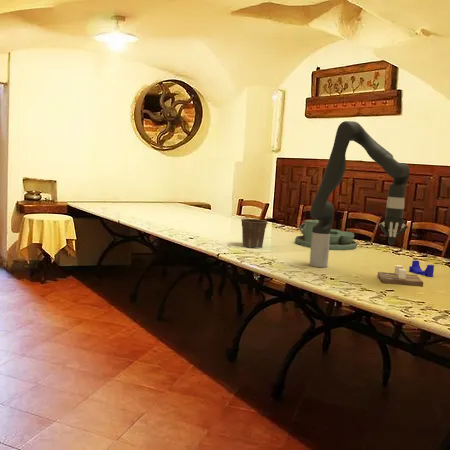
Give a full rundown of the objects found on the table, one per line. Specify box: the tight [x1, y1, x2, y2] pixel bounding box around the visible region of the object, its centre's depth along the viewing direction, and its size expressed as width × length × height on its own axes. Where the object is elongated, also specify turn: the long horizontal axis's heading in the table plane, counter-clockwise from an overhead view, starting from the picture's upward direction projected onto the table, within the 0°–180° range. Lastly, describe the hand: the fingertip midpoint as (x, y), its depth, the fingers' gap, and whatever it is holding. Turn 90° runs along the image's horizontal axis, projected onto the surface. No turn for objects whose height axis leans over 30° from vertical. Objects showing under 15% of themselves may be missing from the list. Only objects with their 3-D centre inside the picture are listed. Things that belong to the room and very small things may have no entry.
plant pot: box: [240, 218, 268, 248], centre depth 313 cm, size 16×16×16 cm
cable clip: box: [408, 259, 435, 278], centre depth 258 cm, size 12×4×6 cm, turn 21°
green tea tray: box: [294, 219, 358, 251], centre depth 336 cm, size 40×40×16 cm
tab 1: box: [394, 264, 404, 275], centre depth 244 cm, size 3×3×4 cm
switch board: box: [376, 271, 424, 287], centre depth 240 cm, size 15×18×2 cm
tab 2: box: [398, 268, 407, 279], centre depth 235 cm, size 3×3×4 cm
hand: (391, 244), depth 235 cm, fingers closed
